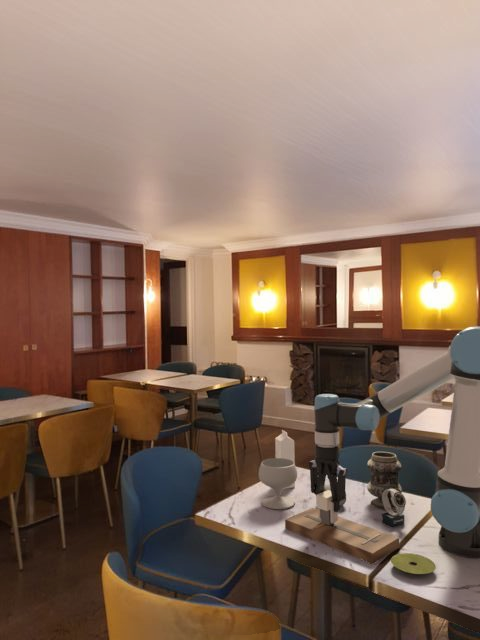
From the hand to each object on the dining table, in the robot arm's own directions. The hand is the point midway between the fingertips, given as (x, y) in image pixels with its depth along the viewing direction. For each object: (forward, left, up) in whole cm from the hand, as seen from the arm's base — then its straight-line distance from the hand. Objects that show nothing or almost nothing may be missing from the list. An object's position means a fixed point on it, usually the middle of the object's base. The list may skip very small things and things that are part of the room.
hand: (328, 519), depth 154 cm
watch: (-10, -21, -5) cm, 24 cm away
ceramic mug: (+14, -20, -5) cm, 25 cm away
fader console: (-4, 0, -4) cm, 6 cm away
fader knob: (0, 0, -1) cm, 1 cm away
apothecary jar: (+1, -34, -5) cm, 34 cm away
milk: (+39, -23, -5) cm, 45 cm away
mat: (-29, +2, -5) cm, 30 cm away
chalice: (+28, -7, -5) cm, 29 cm away
